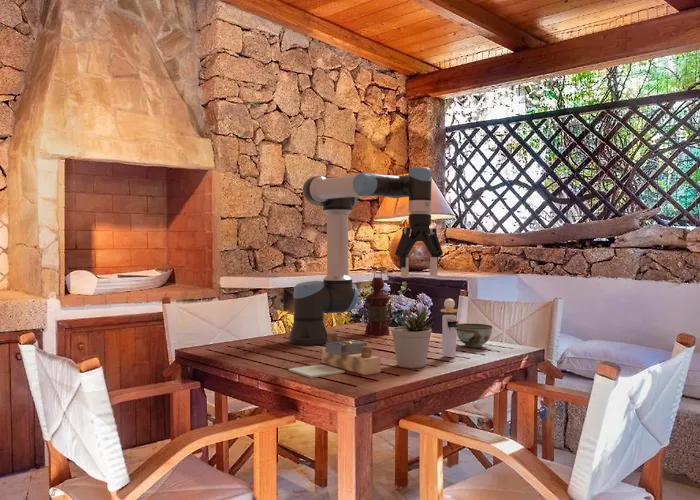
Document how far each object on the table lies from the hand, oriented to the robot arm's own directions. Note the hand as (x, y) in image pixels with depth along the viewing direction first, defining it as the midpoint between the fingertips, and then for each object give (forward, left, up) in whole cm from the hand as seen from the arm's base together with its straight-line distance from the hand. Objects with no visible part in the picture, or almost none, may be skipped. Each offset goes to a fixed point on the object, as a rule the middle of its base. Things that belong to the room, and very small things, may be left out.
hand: (419, 277), depth 203 cm
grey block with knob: (-4, -28, -23) cm, 36 cm away
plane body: (-2, -28, -27) cm, 39 cm away
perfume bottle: (+5, +9, -28) cm, 29 cm away
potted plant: (+8, -11, -28) cm, 31 cm away
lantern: (-49, +23, -28) cm, 61 cm away
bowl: (-4, +32, -28) cm, 43 cm away
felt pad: (-3, -40, -27) cm, 48 cm away
